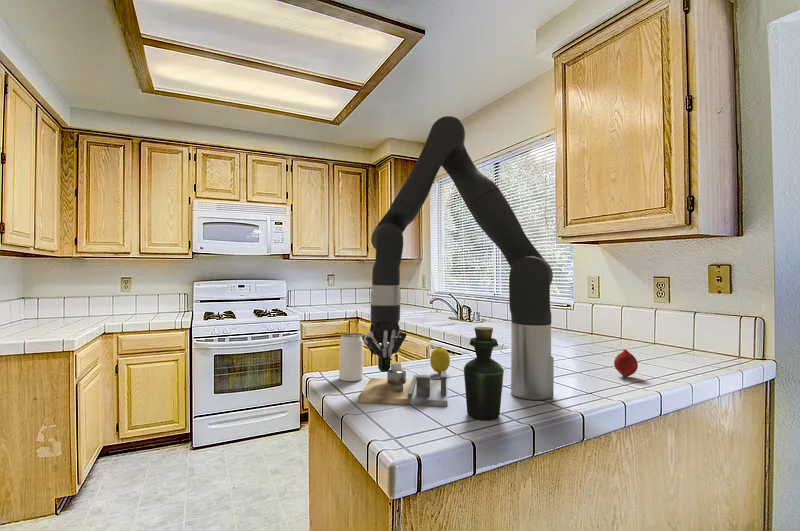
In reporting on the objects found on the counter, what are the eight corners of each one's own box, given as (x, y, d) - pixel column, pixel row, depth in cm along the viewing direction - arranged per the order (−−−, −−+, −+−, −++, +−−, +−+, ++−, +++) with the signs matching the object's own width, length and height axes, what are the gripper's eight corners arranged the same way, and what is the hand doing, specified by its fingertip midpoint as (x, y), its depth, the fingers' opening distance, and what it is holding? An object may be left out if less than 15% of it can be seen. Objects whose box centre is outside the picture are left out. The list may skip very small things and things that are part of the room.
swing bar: (406, 384, 96) (406, 373, 96) (387, 384, 96) (387, 373, 96) (404, 371, 108) (404, 361, 108) (387, 371, 108) (387, 361, 108)
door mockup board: (447, 385, 107) (447, 364, 107) (447, 406, 91) (447, 381, 91) (370, 382, 109) (371, 361, 109) (358, 402, 93) (358, 377, 93)
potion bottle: (512, 417, 84) (512, 329, 84) (482, 425, 80) (483, 332, 80) (483, 406, 91) (484, 324, 91) (455, 413, 86) (455, 327, 86)
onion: (638, 376, 117) (638, 348, 117) (637, 381, 112) (637, 351, 112) (615, 373, 120) (615, 346, 120) (613, 377, 115) (613, 349, 115)
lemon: (428, 372, 120) (429, 344, 120) (447, 371, 121) (447, 344, 121) (431, 377, 115) (432, 348, 115) (451, 376, 115) (451, 348, 115)
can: (358, 382, 109) (359, 337, 109) (335, 381, 110) (335, 336, 110) (365, 376, 115) (366, 333, 115) (343, 375, 116) (344, 332, 116)
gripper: (396, 301, 112) (395, 365, 112) (355, 302, 104) (354, 371, 103) (414, 303, 106) (413, 370, 106) (372, 305, 98) (371, 378, 98)
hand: (384, 371), depth 105 cm, fingers closed
